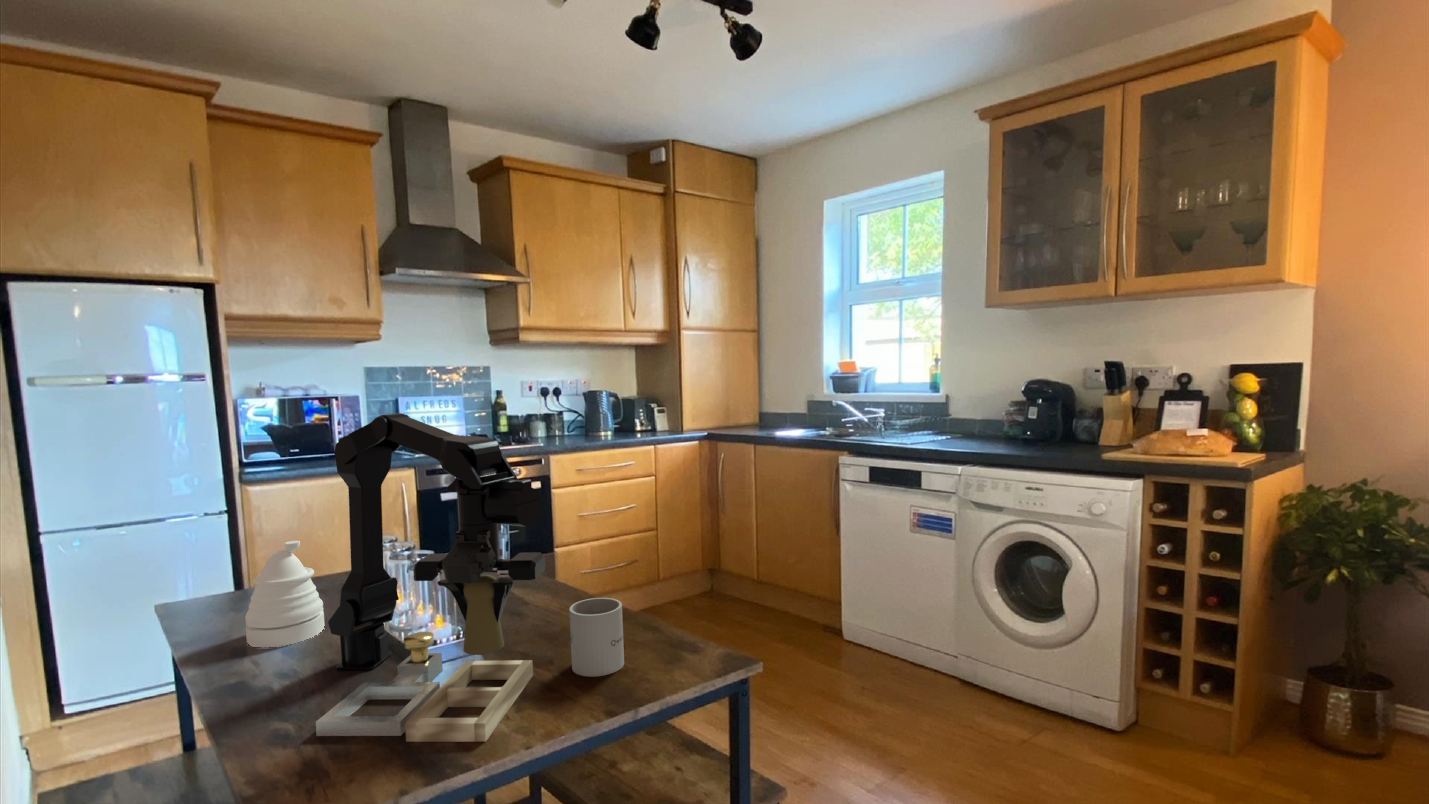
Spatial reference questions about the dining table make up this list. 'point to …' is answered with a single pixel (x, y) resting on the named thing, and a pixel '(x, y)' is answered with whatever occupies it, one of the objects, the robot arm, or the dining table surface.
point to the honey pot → (284, 602)
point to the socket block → (406, 685)
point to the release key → (419, 646)
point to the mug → (596, 636)
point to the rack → (470, 702)
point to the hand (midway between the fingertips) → (482, 621)
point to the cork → (481, 618)
